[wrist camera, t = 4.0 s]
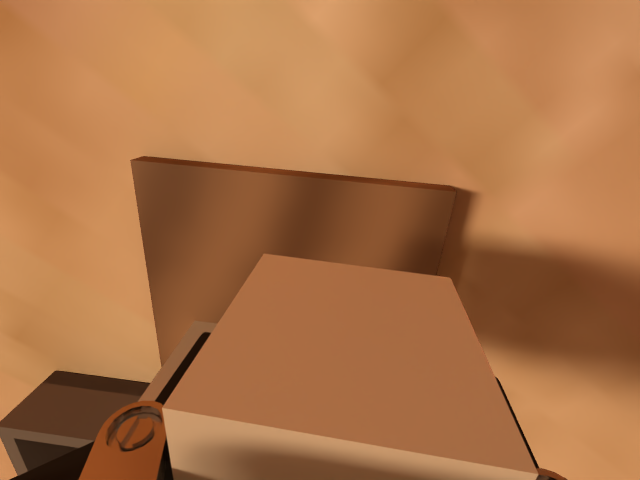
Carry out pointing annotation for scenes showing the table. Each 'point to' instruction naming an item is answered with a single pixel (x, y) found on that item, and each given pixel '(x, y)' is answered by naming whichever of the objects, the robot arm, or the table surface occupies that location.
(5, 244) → the table surface
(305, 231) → the walnut board
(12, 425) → the charcoal bin
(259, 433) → the peach cube
